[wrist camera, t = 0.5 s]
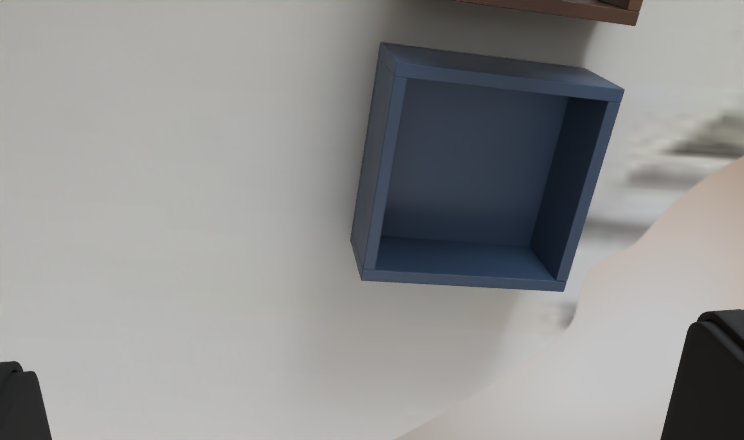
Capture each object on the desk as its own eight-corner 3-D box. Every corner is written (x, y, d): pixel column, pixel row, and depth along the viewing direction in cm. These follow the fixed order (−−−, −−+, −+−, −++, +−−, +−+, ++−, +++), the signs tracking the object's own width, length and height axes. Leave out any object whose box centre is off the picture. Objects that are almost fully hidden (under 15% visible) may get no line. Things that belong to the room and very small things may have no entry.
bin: (380, 42, 42) (396, 61, 37) (584, 67, 45) (625, 89, 40) (350, 240, 48) (360, 280, 43) (534, 253, 50) (564, 292, 45)
